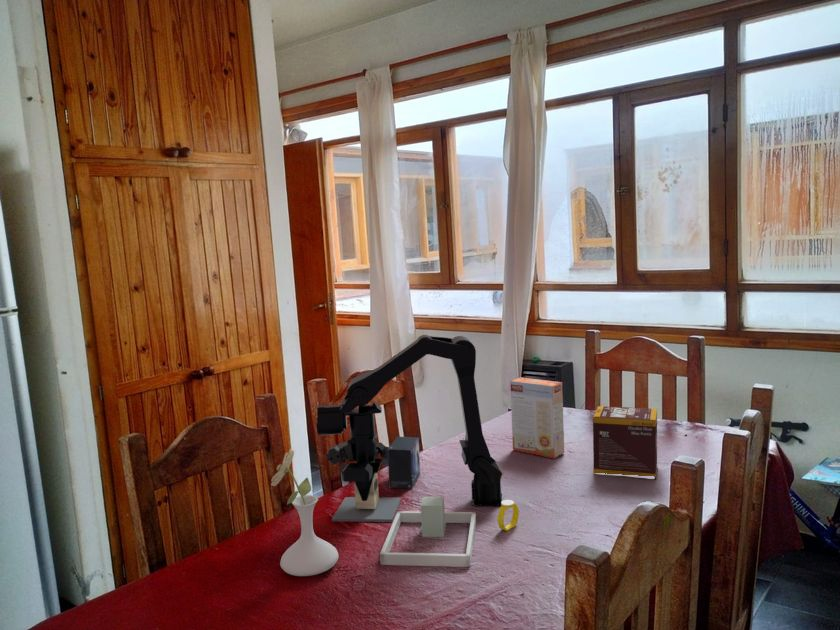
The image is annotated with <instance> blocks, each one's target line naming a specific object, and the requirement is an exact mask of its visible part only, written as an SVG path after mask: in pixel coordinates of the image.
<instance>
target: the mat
mask: <svg viewBox="0 0 840 630" xmlns="http://www.w3.org/2000/svg"><path fill="white" fill-rule="evenodd" d="M401 502H402V497H380V496H379V502H378V504H377V506H376V508H375V509H356V500H355V496H348V497H347V496H345V497H344V498H343V500H342V501H341V503H340V505H339V507H338V508H337V510H336V512H335V513H334V514H333V516H332V518H331V521H332V522H356V523H357V522H362V523H363V522H365V523H366V522H367V523H370V522H372V523H376V522H377V523H378V522H379V523H381V522H382V523H393V521H394V519H395V516H396V514H397V512H398V511H399V510H398V509H399V507H400V505H401Z"/></svg>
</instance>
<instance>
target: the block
mask: <svg viewBox="0 0 840 630" xmlns="http://www.w3.org/2000/svg"><path fill="white" fill-rule="evenodd" d="M420 511H421V522H420V523H421V536H422V538H444V535H445V532H446V523H445V512H446V511H445V497H444V496H422V499H421V503H420Z"/></svg>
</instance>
